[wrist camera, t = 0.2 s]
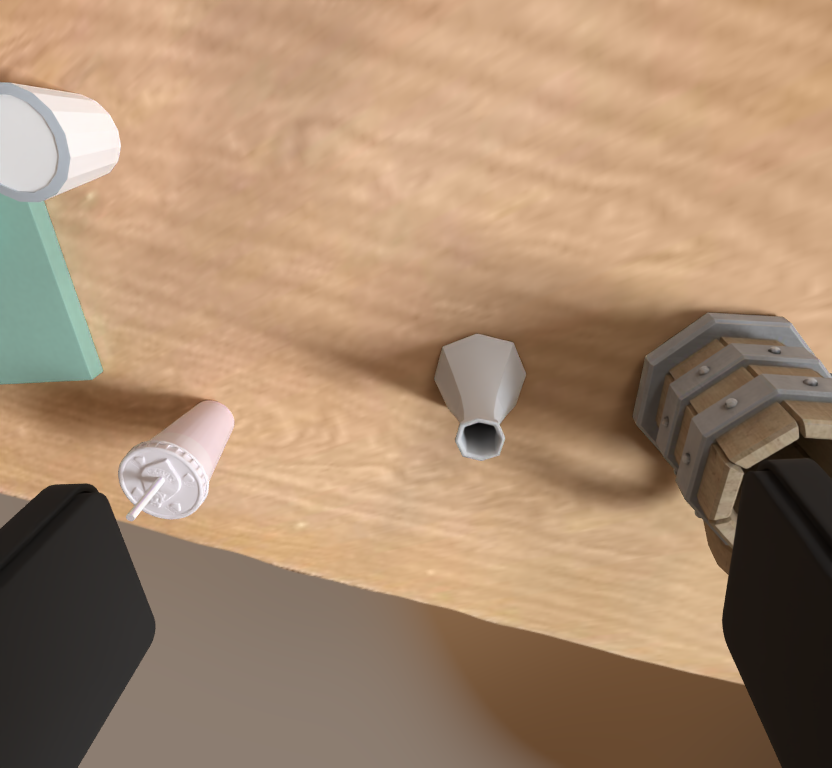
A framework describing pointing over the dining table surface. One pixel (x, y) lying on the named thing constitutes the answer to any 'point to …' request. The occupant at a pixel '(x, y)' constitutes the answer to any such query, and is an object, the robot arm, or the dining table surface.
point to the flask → (480, 390)
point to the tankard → (733, 410)
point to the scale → (39, 303)
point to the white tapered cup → (52, 142)
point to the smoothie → (176, 463)
